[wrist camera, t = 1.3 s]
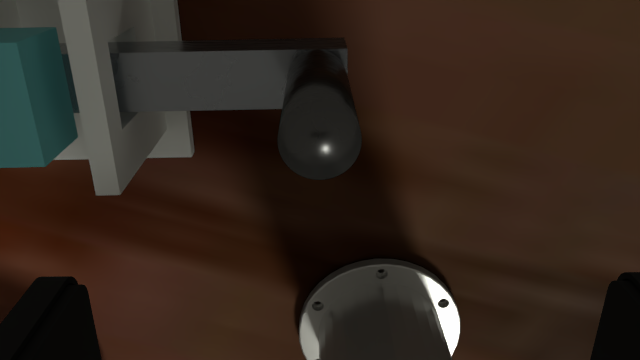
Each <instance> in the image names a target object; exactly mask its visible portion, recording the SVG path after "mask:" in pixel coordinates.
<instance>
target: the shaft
mask: <svg viewBox="0 0 640 360" xmlns="http://www.w3.org/2000/svg"><path fill="white" fill-rule="evenodd" d="M59 44H60V49H61V54H62V59H63V64H64V69H65V74H66V79H67V84H68V89H69V94H70V99H71V104H72V109H73V113H80V112H79V107H78V102H77V96H76V91H75V86H74V81H73V76H72V71H71V66H70V61H69V56H68V51H67V46H66V43H59ZM108 47H109V53H110V59H111V65H112V71H113V77H114V83H115V89H116V95H117V101H118V107H119V112H152V111H202V110H252V109H282V113H281V119H280V125H279V131H278V149H279V153H280V155H281V157H282V159H283V161H284V162H285V163H286V165H287V166H288V167H289V168H290V169H291V170H292V171H294V172H295V173H297V174H298V175H300V176H303V177H305V178H309V179H314V180H324V179H330V178H333V177H336V176H338V175H340V174H342V173H344V172H345V171H346V170H348V169H349V168H350V167H351V166H352V165H353V163H354V162H355V161H356V159H357V157H358V155H359V152H360V149H361V142H362V138H361V131H360V127H359V122H358V118H357V114H356V110H355V106H354V101H353V97H352V93H351V89H350V84H349V80H348V76H347V45H346V42H345V39H344V38H301V39H249V40H198V41H146V42H108Z"/></svg>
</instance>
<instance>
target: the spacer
mask: <svg viewBox="0 0 640 360" xmlns="http://www.w3.org/2000/svg"><path fill="white" fill-rule="evenodd" d="M77 138H78V133H77V128H76V123H75V119H74V114H73V109H72V104H71V99H70V94H69V89H68V84H67V79H66V74H65V69H64V64H63V59H62V54H61V49H60V44H59V39H58V34H57V29H56V27H30V28H0V168H10V167H46V166H47V165H48V164H49V163H50V162H51V161H52V160H53V159H54V158H56V157H57V156H58V155H59V154H60V153H61V152H62V151H63V150H64V149H66V148H67V147H68V146H69V145H70V144H71V143H72V142H73V141H74V140H76V139H77Z"/></svg>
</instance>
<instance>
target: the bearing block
mask: <svg viewBox="0 0 640 360" xmlns="http://www.w3.org/2000/svg"><path fill="white" fill-rule="evenodd" d="M30 27H56V29H57V34H58V39H59V43H66V46H67V51H68V56H69V61H70V66H71V71H72V76H73V81H74V86H75V91H76V96H77V102H78V107H79V112H80V113H73V114H74V119H75V123H76V128H77V133H78V138H77V139H76V140H74V141H73V142H72V143H71V144H70V145H69V146H68V147H67V148H66V149H64V150H63V151H62V152H61V153H60V154H59V155H58V156H57V157H56V158H54V159H53V160H72V159H89V162H90V167H91V173H92V178H93V183H94V188H95V193H96V195H121V193H122V192H123V190H124V189H125V188H126V186H127V185H128V183H129V182H130V181H131V179H132V178H133V176H134V175H135V174H136V172H137V171H138V169H139V168H140V167H141V165H142V164H143V162H144V161H145V160H146V158H170V157H192V156H193V154H194V152H195V150H194V142H193V133H192V124H191V115H190V111H152V112H119V107H118V101H117V95H116V89H115V83H114V77H113V71H112V65H111V59H110V53H109V47H108V42H146V41H182V37H181V28H180V19H179V11H178V2H177V0H0V28H30Z"/></svg>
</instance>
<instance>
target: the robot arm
mask: <svg viewBox="0 0 640 360" xmlns="http://www.w3.org/2000/svg"><path fill="white" fill-rule="evenodd" d="M380 269H382V270H380ZM459 336H460V316H459V312H458V308H457V305H456V303H455V301H454V298H453V296H452V294H451V292H450V291H449V290H448V288H447V287H446V285H445V284H444V283H443V282H442V281H441V280H440V279H439V278H438V277H437V276H436V275H434V274H433V273H431V272H429V271H428V270H426V269H425V268H423V267H421V266H418V265H415V264H413V263H410V262H407V261H401V260H396V259H370V260H363V261H359V262H355V263H352V264H349V265H346V266H344V267H342V268H340V269H338V270H336V271H334V272H332V273H331V274H329V275H328V276H327V277H325V278H324V279H323V280H322V281H320V282H319V283H318V284H317V286H316V287H315V288H314V289H313V290H312V291H311V292H310V294H309V296H308V297H307V299H306V301H305V303H304V305H303V308H302V311H301V314H300V321H299V341H300V345H301V349H302V352H303V354H304V356H305V358H306V360H453V359H452V355H453V353H454V350H455V348H456V346H457V344H458V340H459ZM0 360H101V355H100V350H99V345H98V340H97V335H96V330H95V325H94V320H93V315H92V310H91V305H90V300H89V295H88V291H87V288H86V286H85V285H78V283H77V281H76V279H75V278H74V277H39V278H37V279H36V280H35V281H34V282H33V283H32V285H31V286H30V287H29V288H28V290H27V291H26V292H25V293H24V295H23V296H22V297H21V299H20V300H19V301H18V302H17V304H16V305H15V306H14V307H13V309H12V310H11V311H10V313H9V314H8V315H7V316H6V318H5V319H4V320H3V321H2V323H1V324H0ZM590 360H640V272H625V273H622V274H621V275H620V276H619V277H618V280H617V281H612V282H611V283H610V284H609V287H608V290H607V294H606V298H605V302H604V306H603V310H602V314H601V318H600V322H599V326H598V330H597V335H596V339H595V343H594V347H593V351H592V355H591V359H590Z"/></svg>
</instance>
